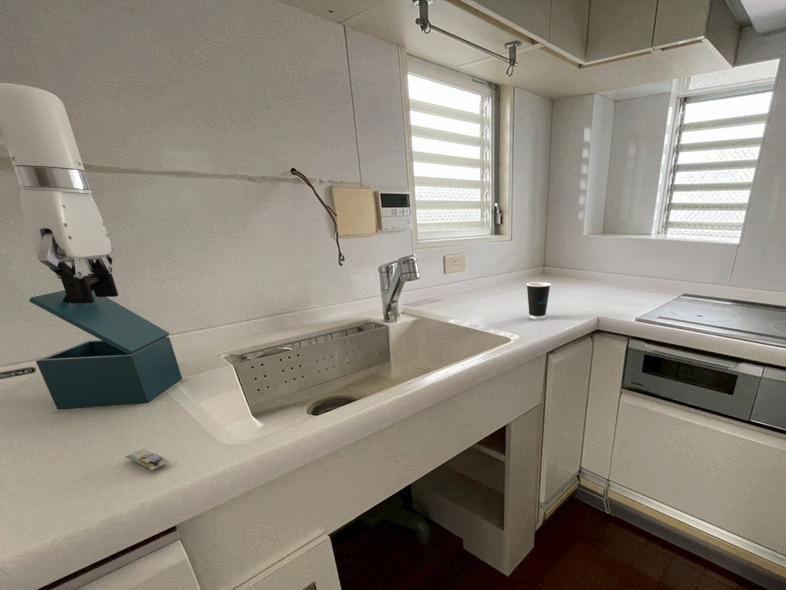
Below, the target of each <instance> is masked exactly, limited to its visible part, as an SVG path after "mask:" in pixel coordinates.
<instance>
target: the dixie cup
mask: <svg viewBox="0 0 786 590" xmlns="http://www.w3.org/2000/svg"><path fill="white" fill-rule="evenodd" d="M525 284H526V290H527V292H526V293H527V303H528V314H529V318H530V319H532V320H544V319H545V316H546V314H547V308H548V302H549V294H550V289H551V286H552V283H550V282H545V281H532V282H531V281H529V282H526V283H525Z"/></svg>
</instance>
